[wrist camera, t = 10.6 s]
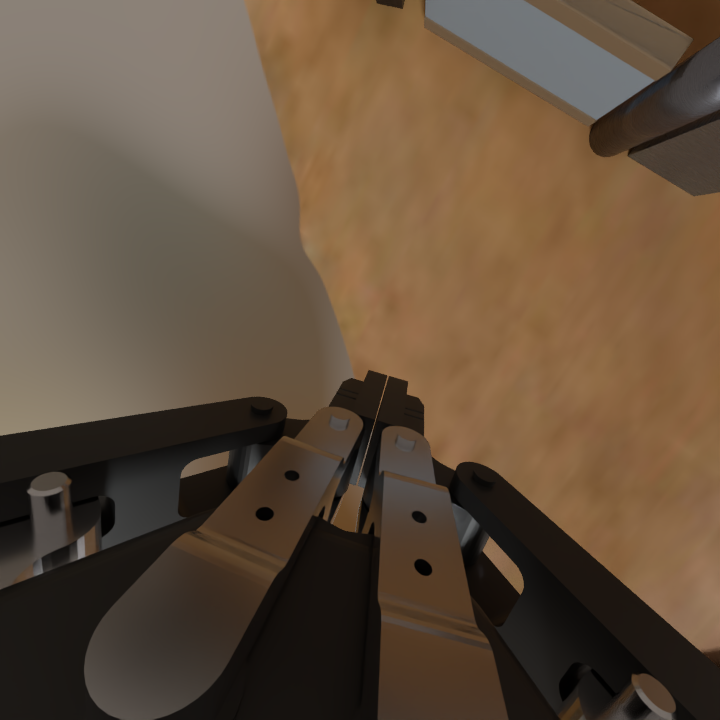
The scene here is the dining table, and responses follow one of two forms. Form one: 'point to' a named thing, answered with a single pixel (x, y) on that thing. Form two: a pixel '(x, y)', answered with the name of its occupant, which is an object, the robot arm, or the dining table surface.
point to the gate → (564, 47)
